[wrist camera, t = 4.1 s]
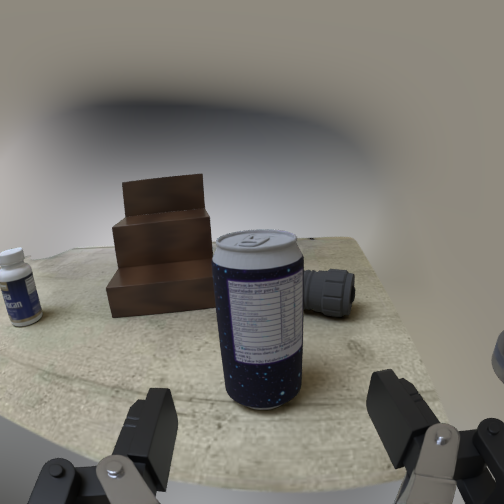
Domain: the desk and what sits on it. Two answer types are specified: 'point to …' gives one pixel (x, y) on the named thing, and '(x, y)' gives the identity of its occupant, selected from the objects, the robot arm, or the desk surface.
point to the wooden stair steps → (162, 248)
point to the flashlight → (329, 291)
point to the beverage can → (260, 315)
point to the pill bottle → (19, 288)
